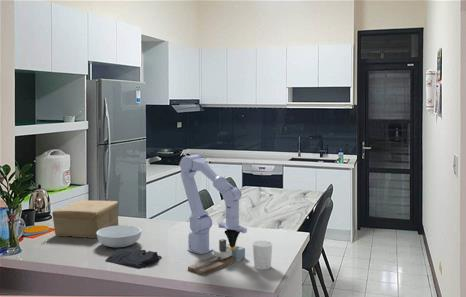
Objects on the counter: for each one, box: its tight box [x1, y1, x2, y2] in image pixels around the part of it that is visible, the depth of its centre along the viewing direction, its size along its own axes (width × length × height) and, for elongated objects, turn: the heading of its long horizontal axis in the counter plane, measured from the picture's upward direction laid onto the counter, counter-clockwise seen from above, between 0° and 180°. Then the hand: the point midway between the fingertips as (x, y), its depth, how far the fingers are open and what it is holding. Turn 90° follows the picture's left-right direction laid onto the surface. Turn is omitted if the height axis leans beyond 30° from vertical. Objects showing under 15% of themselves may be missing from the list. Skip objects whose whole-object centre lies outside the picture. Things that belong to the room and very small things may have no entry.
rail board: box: [187, 255, 236, 276], centre depth 197 cm, size 9×20×2 cm, turn 140°
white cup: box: [252, 240, 273, 271], centre depth 194 cm, size 8×8×10 cm
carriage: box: [213, 239, 232, 260], centre depth 201 cm, size 6×5×8 cm
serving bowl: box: [96, 224, 142, 249], centre depth 226 cm, size 21×21×7 cm
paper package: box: [52, 199, 119, 239], centre depth 250 cm, size 27×26×14 cm
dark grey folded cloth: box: [105, 248, 163, 270], centre depth 205 cm, size 15×22×5 cm
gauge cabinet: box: [226, 243, 246, 262], centre depth 206 cm, size 9×6×4 cm, turn 50°
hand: (232, 246), depth 206 cm, fingers closed
